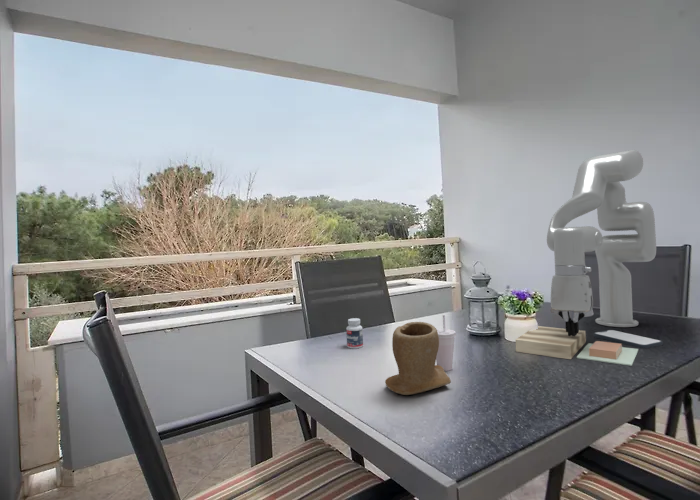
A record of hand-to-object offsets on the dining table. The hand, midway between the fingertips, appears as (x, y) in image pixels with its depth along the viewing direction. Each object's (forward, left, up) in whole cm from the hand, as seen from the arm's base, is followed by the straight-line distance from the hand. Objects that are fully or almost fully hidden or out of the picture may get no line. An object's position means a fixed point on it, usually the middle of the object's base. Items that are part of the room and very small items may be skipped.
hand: (572, 334), depth 111 cm
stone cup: (+49, -21, -4) cm, 53 cm away
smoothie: (+34, -23, -4) cm, 41 cm away
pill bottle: (+30, -57, -4) cm, 64 cm away
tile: (+1, +8, -2) cm, 8 cm away
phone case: (-18, +11, -5) cm, 21 cm away
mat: (0, +8, -4) cm, 9 cm away
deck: (0, -6, -4) cm, 7 cm away
